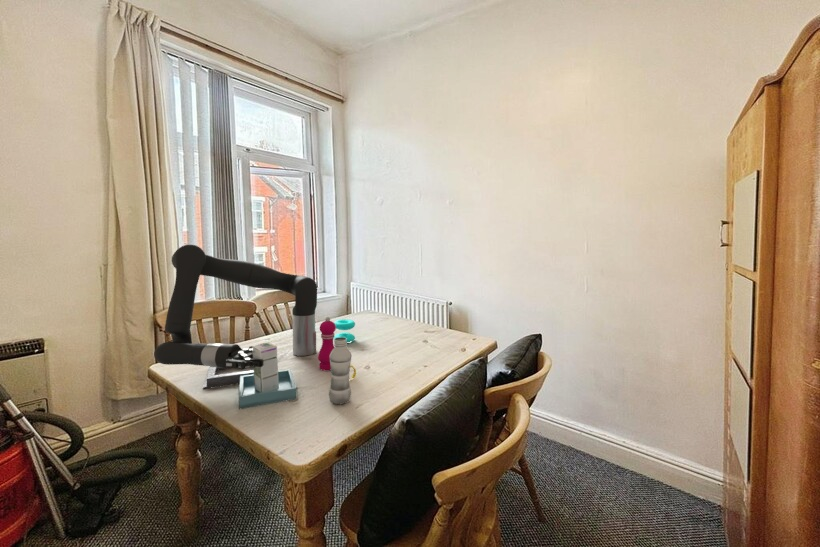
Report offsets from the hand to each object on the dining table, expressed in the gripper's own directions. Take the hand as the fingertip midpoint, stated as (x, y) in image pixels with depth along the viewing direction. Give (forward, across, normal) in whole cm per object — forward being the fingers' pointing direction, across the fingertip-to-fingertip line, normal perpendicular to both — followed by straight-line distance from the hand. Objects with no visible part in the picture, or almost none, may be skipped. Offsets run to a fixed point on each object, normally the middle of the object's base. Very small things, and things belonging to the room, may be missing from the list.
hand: (269, 358), depth 106 cm
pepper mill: (+12, +22, +12) cm, 28 cm away
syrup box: (-1, 0, +11) cm, 11 cm away
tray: (-1, 0, +12) cm, 12 cm away
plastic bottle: (+24, -3, +12) cm, 27 cm away
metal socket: (-19, +12, +12) cm, 25 cm away
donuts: (+9, +54, +12) cm, 56 cm away
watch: (+22, +12, +12) cm, 28 cm away
